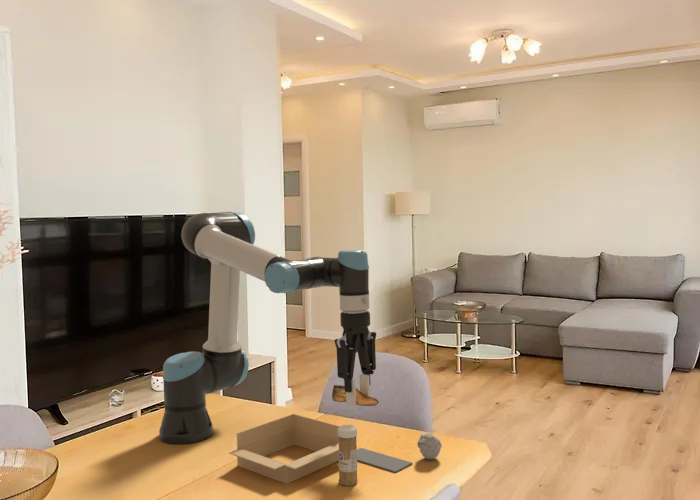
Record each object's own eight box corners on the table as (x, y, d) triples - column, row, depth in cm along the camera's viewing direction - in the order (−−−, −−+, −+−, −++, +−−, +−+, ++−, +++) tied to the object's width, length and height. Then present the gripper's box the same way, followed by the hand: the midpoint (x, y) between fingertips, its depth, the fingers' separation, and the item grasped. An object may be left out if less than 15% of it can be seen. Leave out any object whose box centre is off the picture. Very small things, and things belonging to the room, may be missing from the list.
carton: (228, 469, 169) (227, 436, 168) (294, 443, 186) (293, 413, 186) (286, 491, 155) (285, 455, 154) (351, 461, 172) (351, 428, 172)
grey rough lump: (412, 460, 172) (411, 434, 171) (426, 452, 177) (426, 426, 177) (433, 466, 168) (432, 438, 168) (446, 457, 174) (446, 430, 173)
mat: (343, 456, 175) (343, 455, 175) (361, 449, 181) (361, 447, 181) (395, 472, 164) (395, 471, 164) (412, 464, 169) (412, 462, 169)
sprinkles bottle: (334, 483, 159) (333, 427, 158) (347, 477, 162) (346, 422, 161) (349, 488, 156) (348, 431, 155) (362, 481, 159) (360, 426, 158)
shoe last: (373, 408, 165) (373, 389, 165) (329, 400, 173) (329, 382, 173) (383, 404, 169) (382, 385, 169) (339, 396, 177) (339, 378, 177)
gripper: (342, 317, 160) (345, 412, 162) (388, 307, 174) (391, 396, 175) (319, 314, 166) (323, 407, 167) (366, 305, 179) (369, 391, 180)
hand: (358, 401), depth 171 cm, fingers closed on shoe last, 5 cm apart
